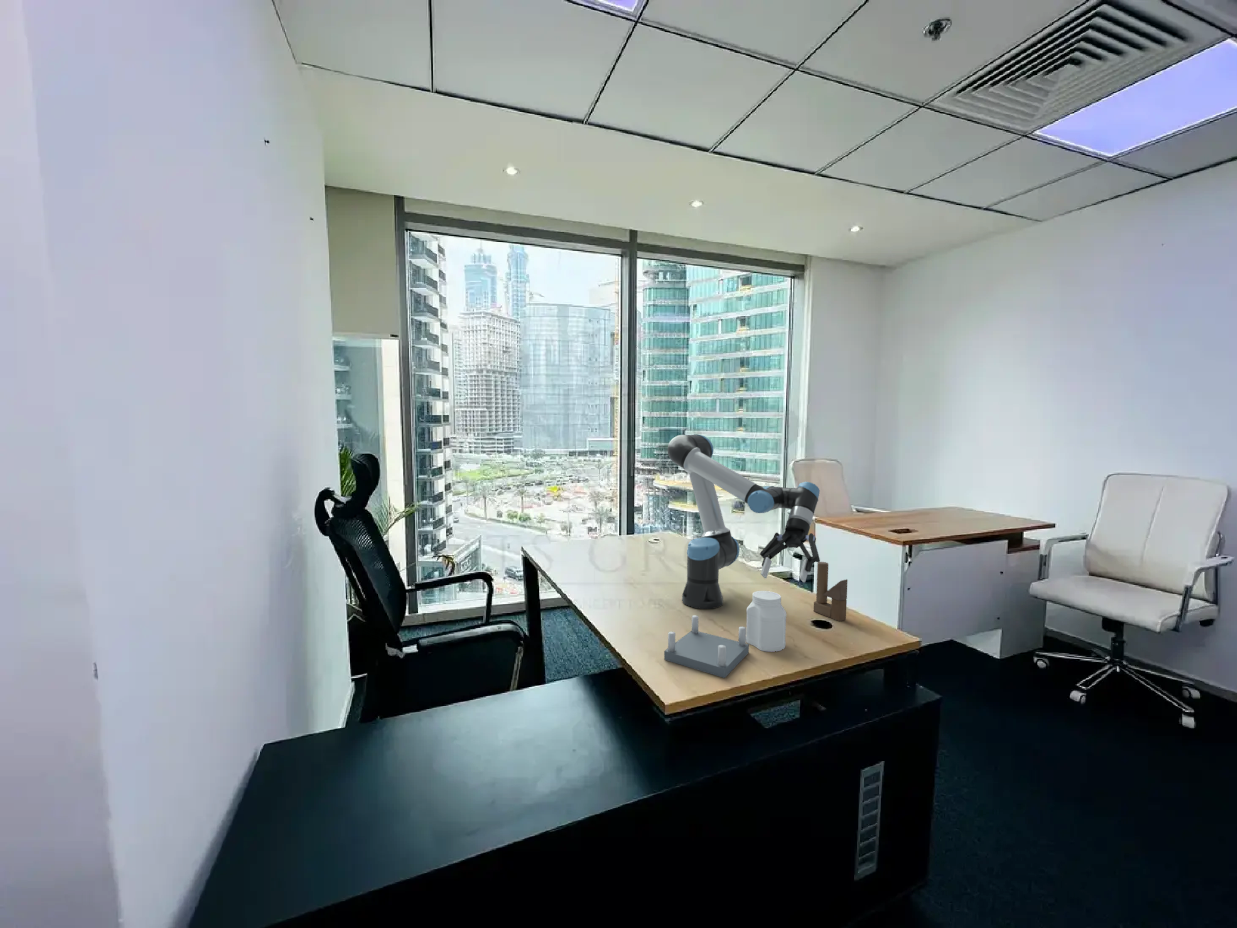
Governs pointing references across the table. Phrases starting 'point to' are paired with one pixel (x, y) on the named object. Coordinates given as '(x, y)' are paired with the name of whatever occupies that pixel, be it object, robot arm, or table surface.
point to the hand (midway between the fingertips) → (782, 578)
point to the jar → (766, 622)
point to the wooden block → (830, 595)
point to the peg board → (707, 651)
